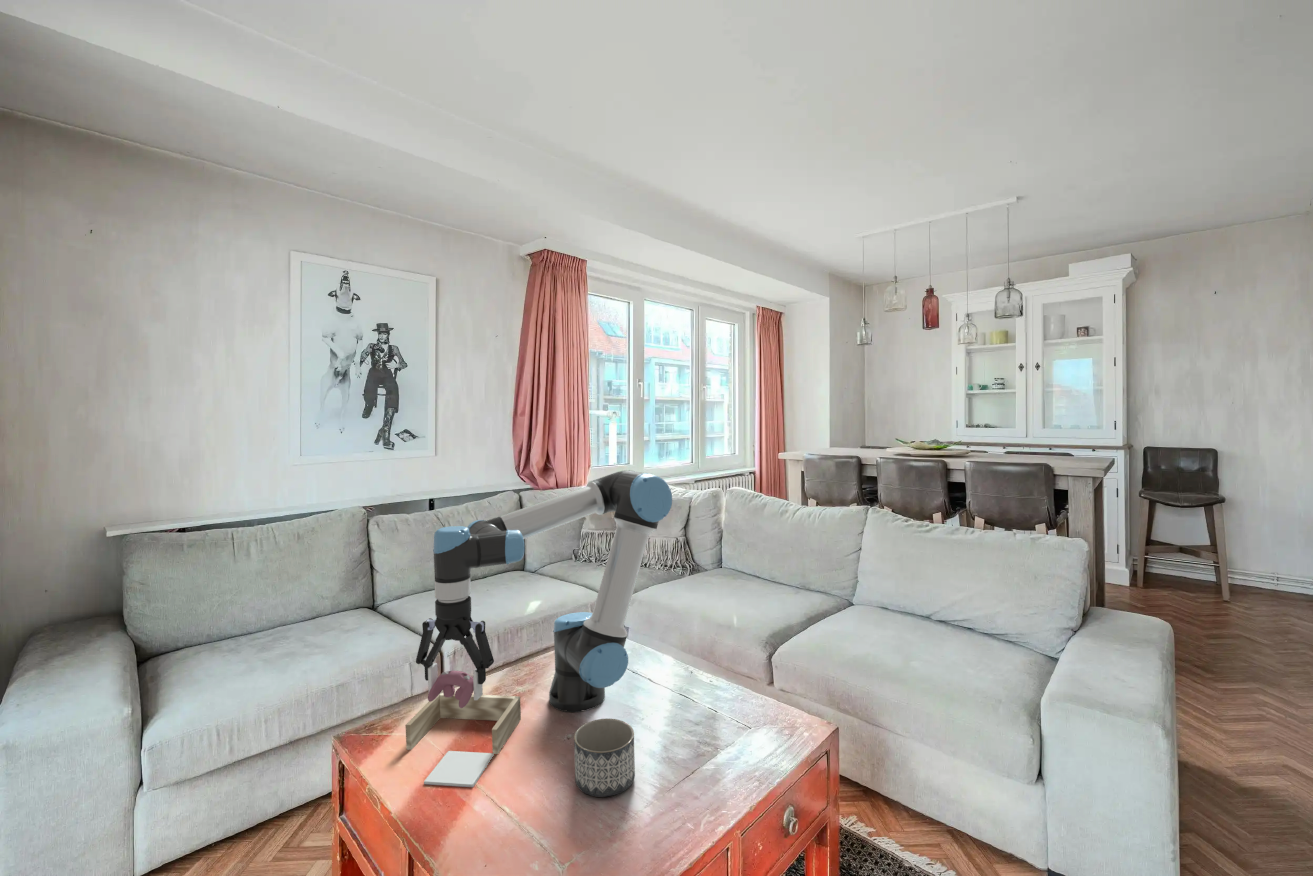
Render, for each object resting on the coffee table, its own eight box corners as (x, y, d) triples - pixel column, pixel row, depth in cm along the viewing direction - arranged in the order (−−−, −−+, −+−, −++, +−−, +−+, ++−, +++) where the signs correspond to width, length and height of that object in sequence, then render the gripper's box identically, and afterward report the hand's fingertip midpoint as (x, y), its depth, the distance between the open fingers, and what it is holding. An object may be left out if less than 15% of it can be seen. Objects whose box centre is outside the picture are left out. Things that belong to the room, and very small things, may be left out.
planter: (611, 810, 115) (610, 759, 114) (562, 788, 121) (561, 740, 121) (646, 775, 125) (645, 728, 125) (599, 757, 132) (598, 712, 131)
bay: (520, 719, 148) (520, 696, 148) (497, 754, 133) (496, 729, 133) (438, 715, 151) (437, 692, 151) (406, 749, 136) (405, 724, 136)
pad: (493, 755, 133) (493, 753, 133) (473, 787, 122) (473, 784, 122) (448, 753, 134) (448, 750, 134) (424, 784, 123) (423, 781, 123)
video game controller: (473, 709, 127) (482, 674, 129) (461, 708, 123) (470, 673, 125) (437, 701, 130) (446, 668, 133) (424, 701, 126) (433, 666, 129)
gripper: (508, 594, 130) (510, 690, 131) (415, 590, 133) (418, 684, 134) (494, 605, 122) (496, 707, 123) (396, 600, 126) (399, 700, 127)
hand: (455, 695), depth 129 cm, fingers closed on video game controller, 10 cm apart
